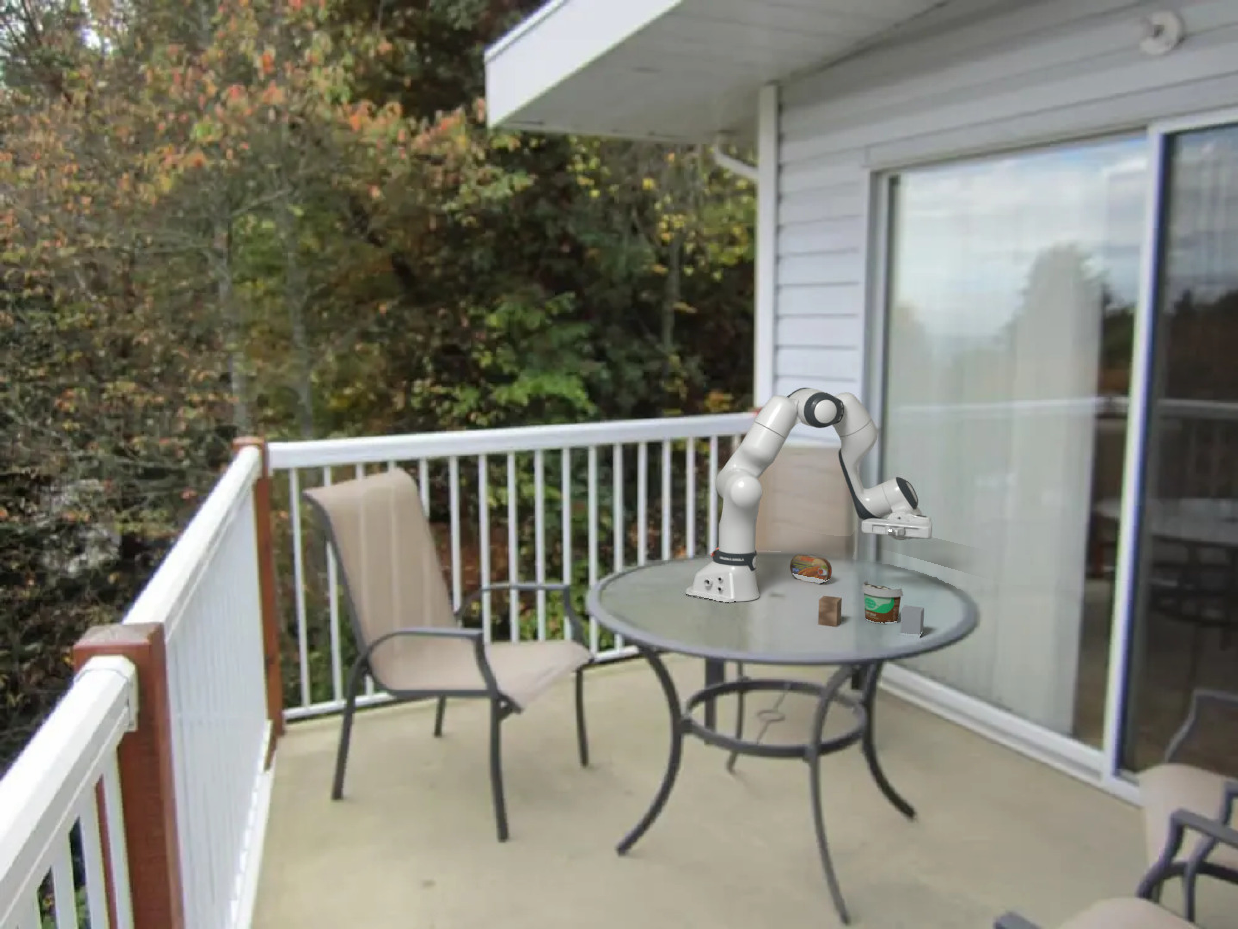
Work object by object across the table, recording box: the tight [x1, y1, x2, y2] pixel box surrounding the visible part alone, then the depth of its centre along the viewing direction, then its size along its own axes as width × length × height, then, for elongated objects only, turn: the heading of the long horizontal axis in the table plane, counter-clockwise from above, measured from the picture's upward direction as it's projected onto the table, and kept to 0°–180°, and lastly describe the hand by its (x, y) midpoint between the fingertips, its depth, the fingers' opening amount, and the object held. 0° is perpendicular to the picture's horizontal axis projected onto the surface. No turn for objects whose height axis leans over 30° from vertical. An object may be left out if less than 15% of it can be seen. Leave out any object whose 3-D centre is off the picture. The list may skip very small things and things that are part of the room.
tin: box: [789, 554, 833, 581], centre depth 317 cm, size 15×3×8 cm, turn 42°
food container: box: [860, 580, 904, 623], centre depth 272 cm, size 12×6×10 cm, turn 40°
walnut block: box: [817, 595, 843, 628], centre depth 270 cm, size 5×5×7 cm
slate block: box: [899, 605, 925, 635], centre depth 260 cm, size 5×5×7 cm
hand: (891, 532), depth 285 cm, fingers closed
